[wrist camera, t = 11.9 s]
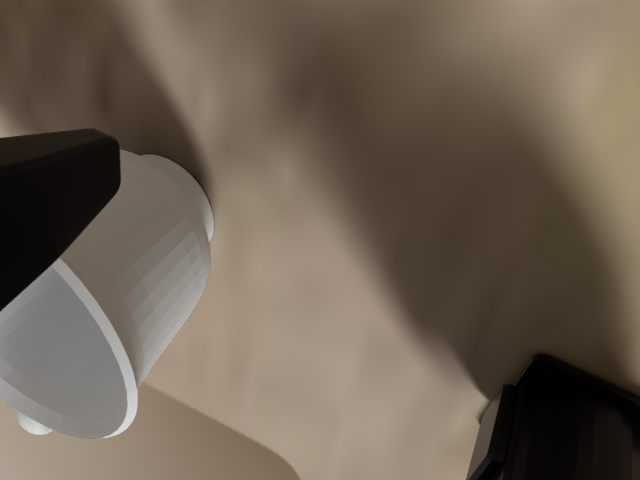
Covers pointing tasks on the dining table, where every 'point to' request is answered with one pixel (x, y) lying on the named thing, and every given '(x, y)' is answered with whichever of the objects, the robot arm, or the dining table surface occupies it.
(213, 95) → the dining table surface
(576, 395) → the robot arm
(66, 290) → the teacup
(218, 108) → the dining table surface
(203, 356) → the dining table surface
